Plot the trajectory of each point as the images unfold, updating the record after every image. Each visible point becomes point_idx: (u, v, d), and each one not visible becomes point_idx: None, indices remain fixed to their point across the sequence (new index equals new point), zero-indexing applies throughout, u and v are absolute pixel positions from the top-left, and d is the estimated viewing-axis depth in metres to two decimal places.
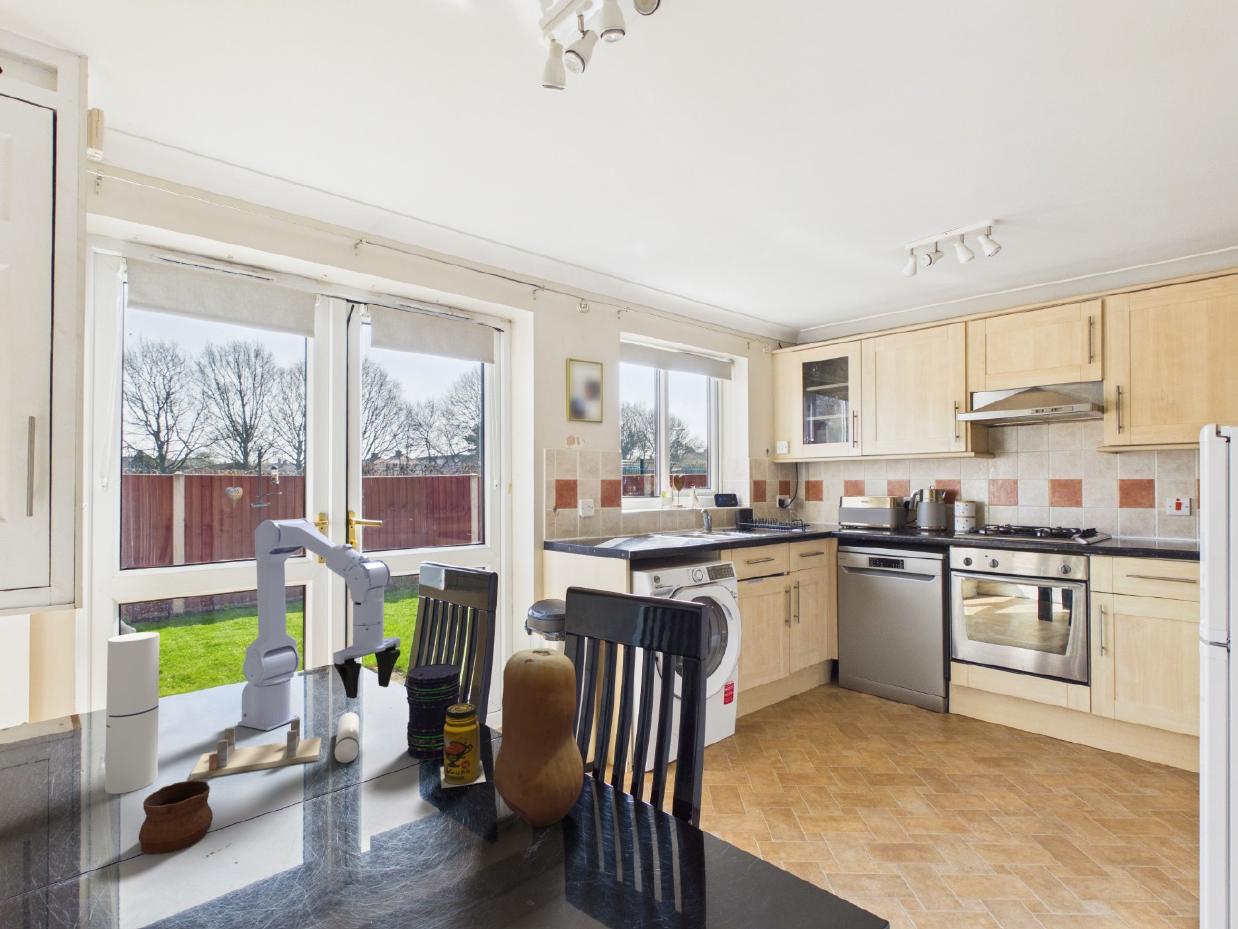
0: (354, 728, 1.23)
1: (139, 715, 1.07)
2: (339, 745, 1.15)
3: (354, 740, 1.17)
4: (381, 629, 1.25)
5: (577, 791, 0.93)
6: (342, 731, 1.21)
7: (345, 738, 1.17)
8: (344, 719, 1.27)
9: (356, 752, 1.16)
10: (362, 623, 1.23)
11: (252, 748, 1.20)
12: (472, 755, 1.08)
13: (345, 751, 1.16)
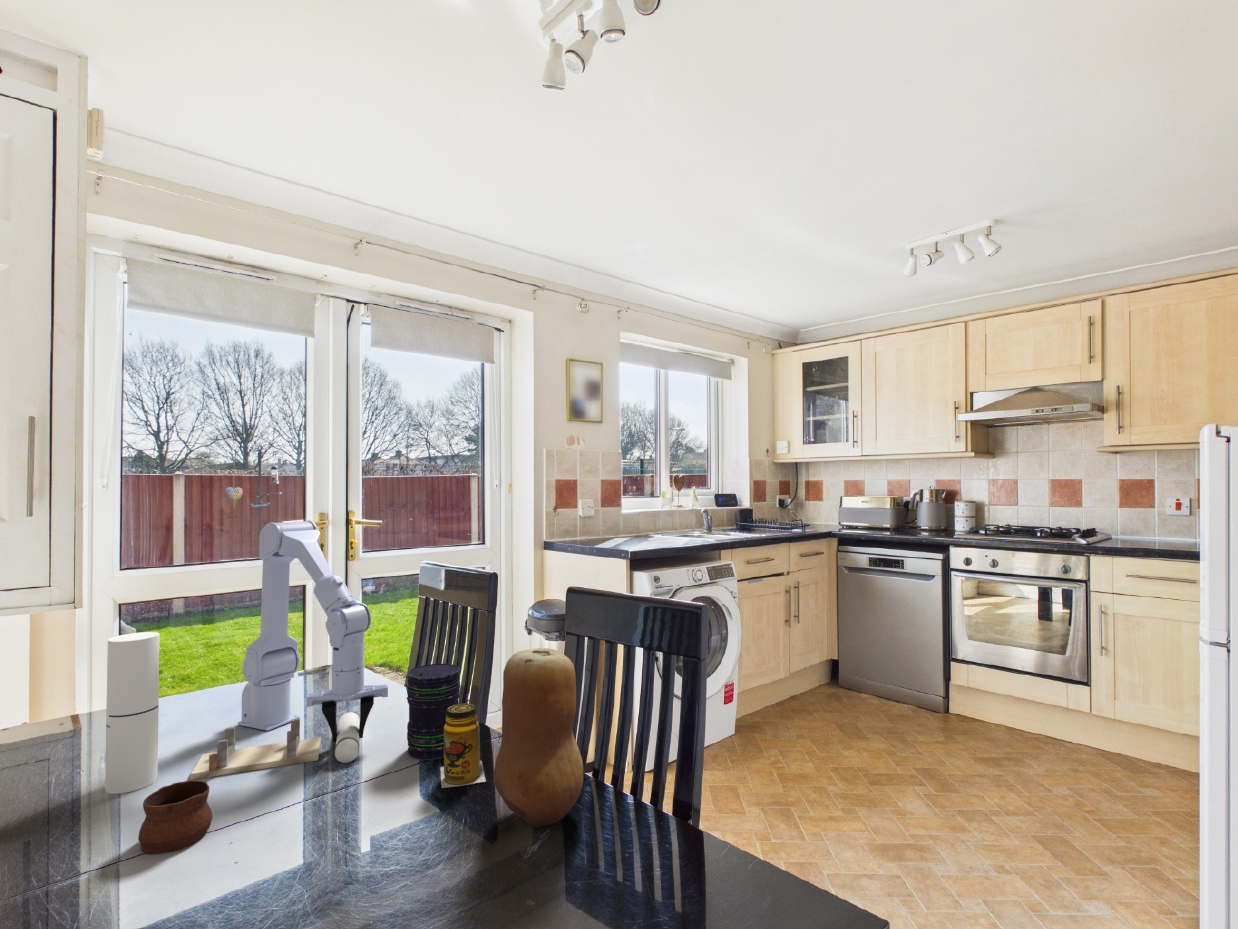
0: (355, 728, 1.23)
1: (139, 715, 1.07)
2: (340, 745, 1.15)
3: (355, 740, 1.17)
4: (353, 677, 1.21)
5: (577, 791, 0.93)
6: (343, 731, 1.21)
7: (346, 738, 1.17)
8: (345, 718, 1.27)
9: (356, 752, 1.16)
10: (340, 669, 1.21)
11: (252, 748, 1.20)
12: (472, 755, 1.08)
13: (345, 751, 1.16)
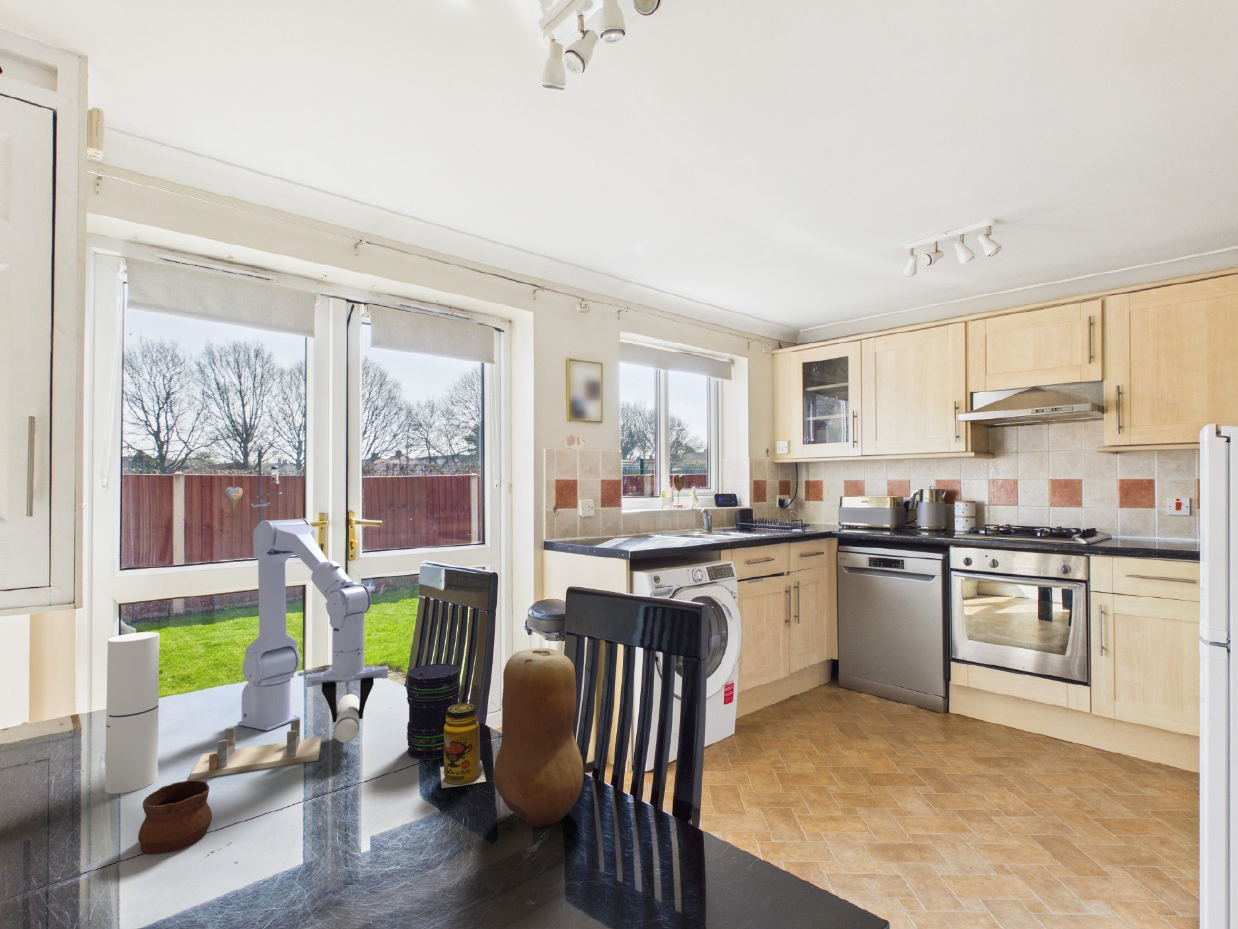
0: (354, 709, 1.23)
1: (139, 715, 1.07)
2: (339, 725, 1.15)
3: (354, 720, 1.17)
4: (353, 658, 1.21)
5: (577, 791, 0.93)
6: (342, 711, 1.21)
7: (345, 718, 1.17)
8: (345, 700, 1.27)
9: (356, 732, 1.16)
10: (340, 650, 1.21)
11: (252, 748, 1.20)
12: (472, 755, 1.08)
13: (345, 731, 1.16)
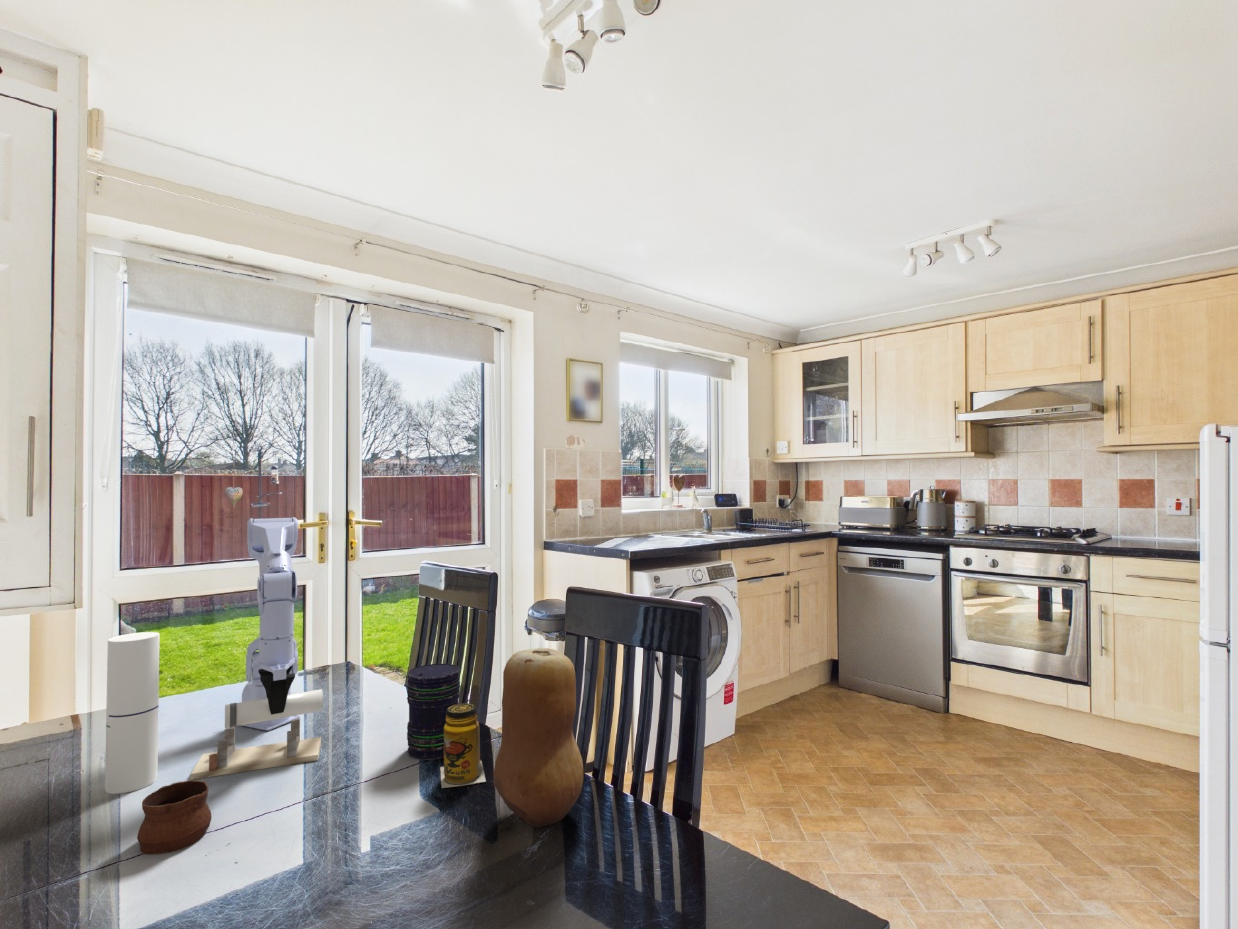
0: None
1: (139, 715, 1.07)
2: None
3: (229, 709, 1.14)
4: (260, 646, 1.17)
5: (577, 791, 0.93)
6: (261, 699, 1.18)
7: (231, 703, 1.15)
8: (301, 692, 1.22)
9: (225, 722, 1.13)
10: (261, 637, 1.17)
11: (252, 748, 1.20)
12: (472, 755, 1.08)
13: None
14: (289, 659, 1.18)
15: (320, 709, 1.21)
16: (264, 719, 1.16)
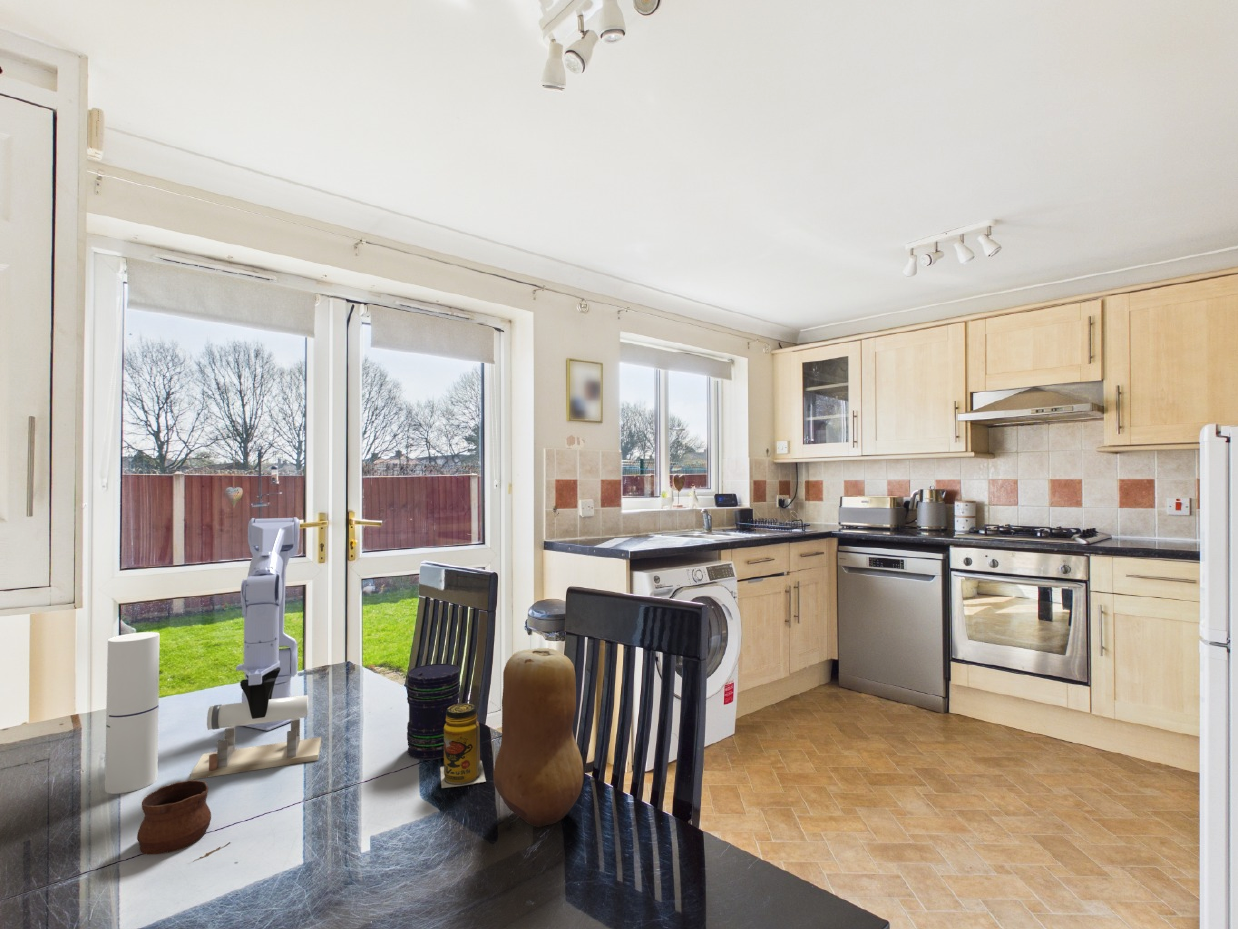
0: None
1: (139, 715, 1.07)
2: None
3: (212, 711, 1.14)
4: (244, 649, 1.16)
5: (577, 791, 0.93)
6: (246, 702, 1.18)
7: (216, 705, 1.15)
8: (287, 697, 1.20)
9: (207, 723, 1.13)
10: (244, 640, 1.16)
11: (252, 748, 1.20)
12: (472, 755, 1.08)
13: None
14: (271, 663, 1.17)
15: (304, 715, 1.19)
16: (246, 723, 1.16)
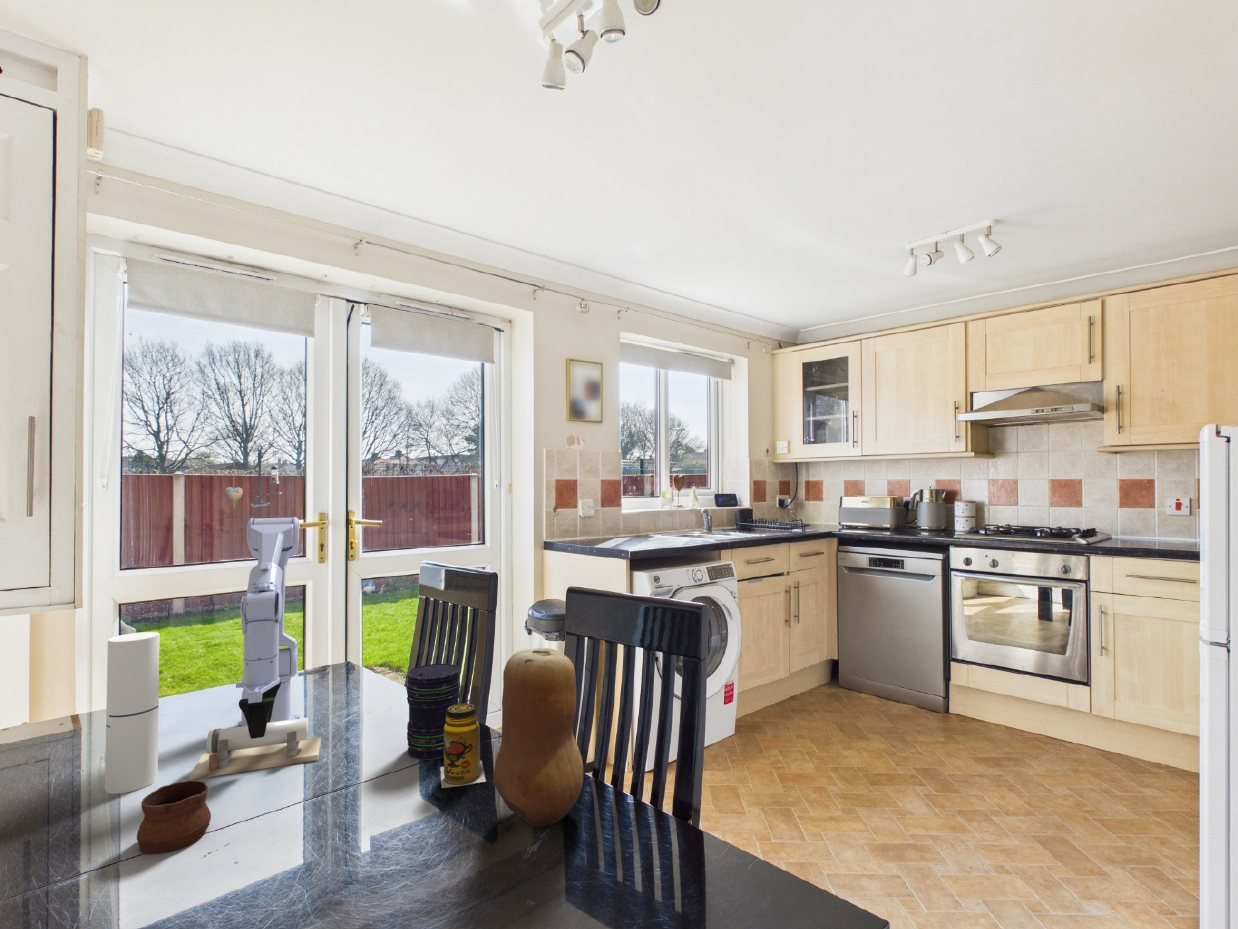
0: None
1: (139, 715, 1.07)
2: None
3: (212, 735, 1.14)
4: None
5: (577, 791, 0.93)
6: None
7: (216, 729, 1.15)
8: (287, 720, 1.20)
9: (207, 748, 1.13)
10: (244, 657, 1.16)
11: (252, 748, 1.20)
12: (472, 755, 1.08)
13: None
14: (271, 680, 1.17)
15: (304, 738, 1.19)
16: (246, 747, 1.15)
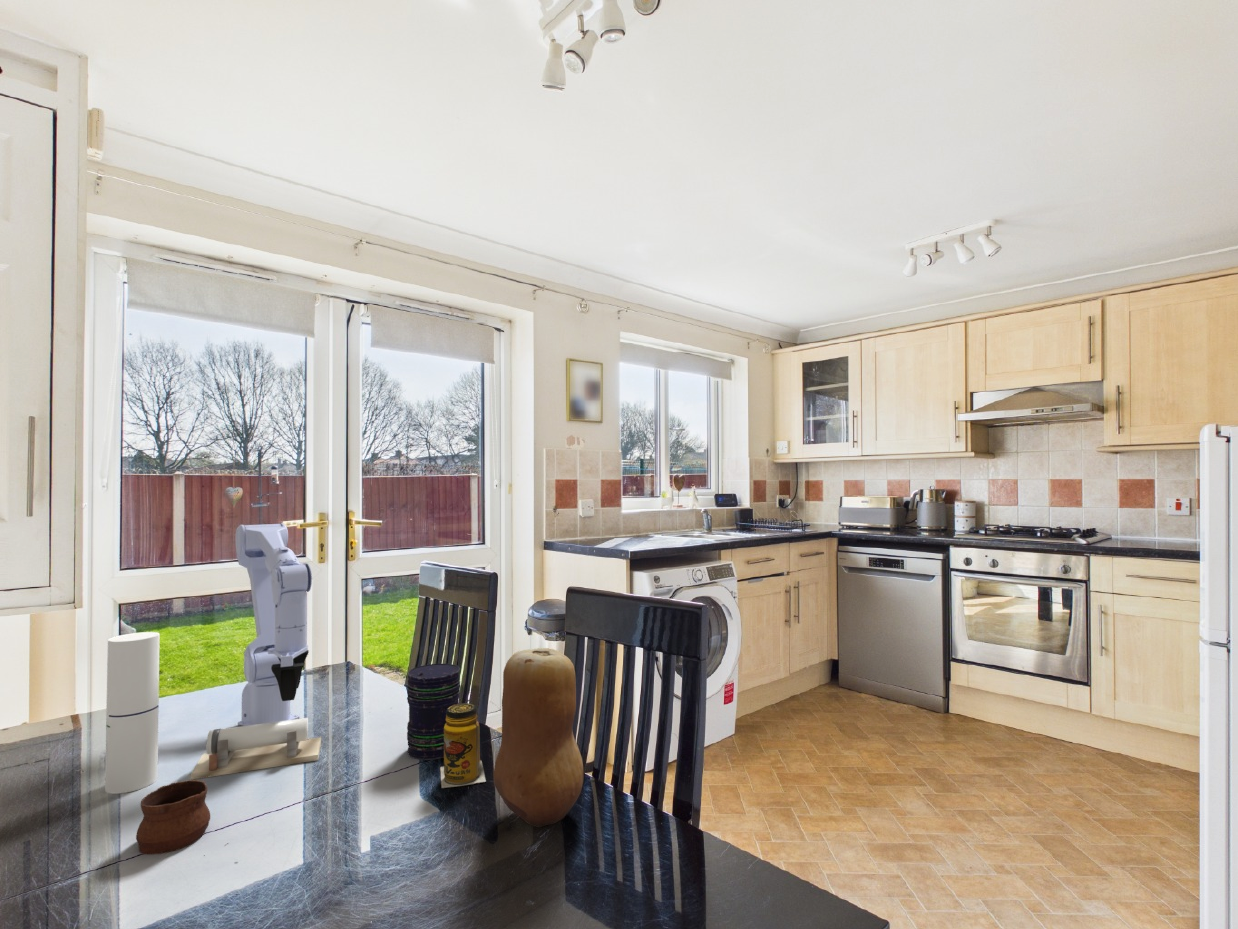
0: (252, 730, 1.16)
1: (139, 715, 1.07)
2: None
3: (211, 736, 1.13)
4: (275, 634, 1.24)
5: (577, 791, 0.93)
6: None
7: (215, 730, 1.15)
8: (287, 720, 1.20)
9: (207, 749, 1.13)
10: (278, 626, 1.24)
11: (252, 748, 1.20)
12: (472, 755, 1.08)
13: None
14: (301, 647, 1.25)
15: (304, 739, 1.19)
16: (246, 747, 1.15)
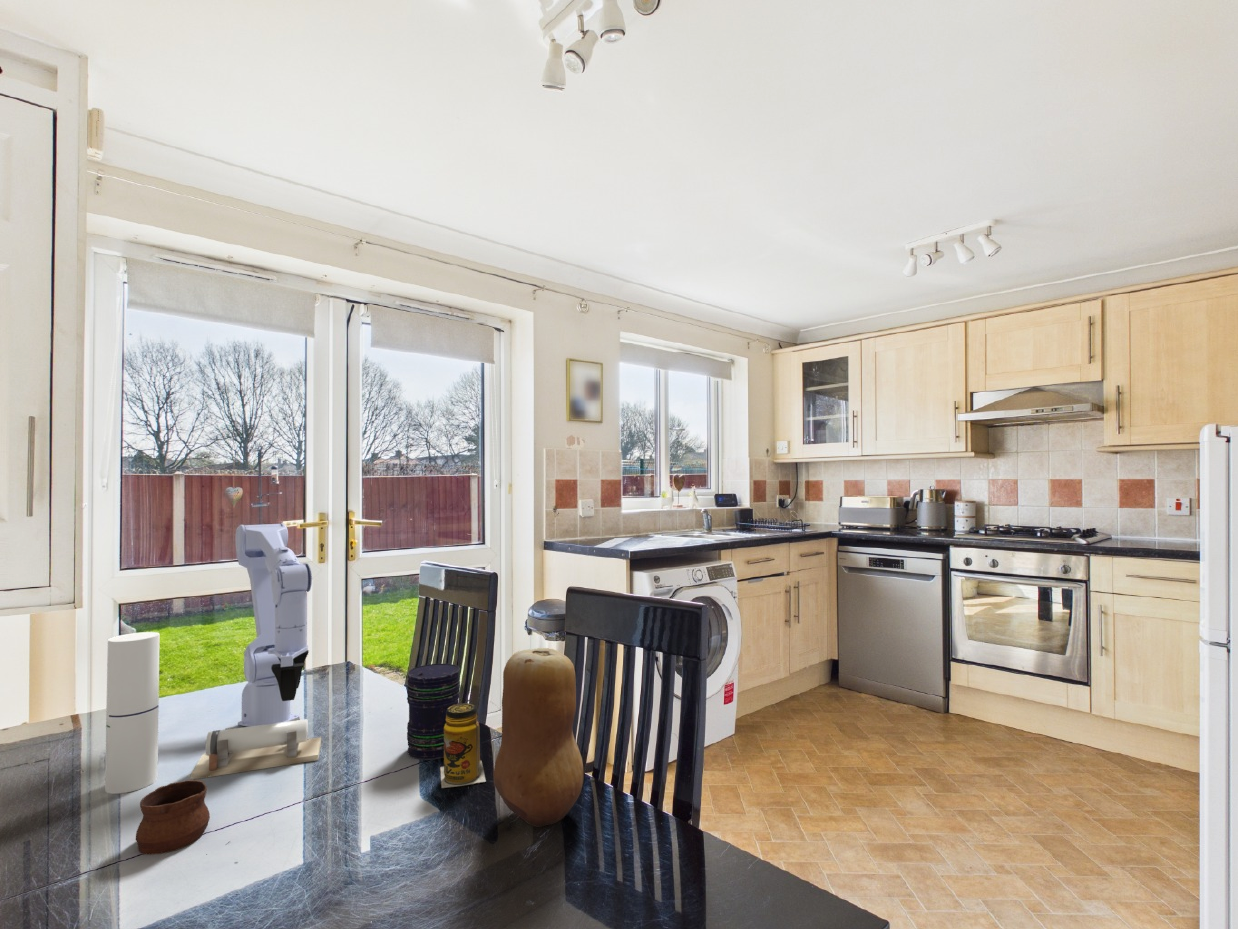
0: (251, 736, 1.15)
1: (139, 715, 1.07)
2: None
3: (210, 742, 1.12)
4: (275, 634, 1.24)
5: (577, 791, 0.93)
6: (244, 727, 1.16)
7: (214, 733, 1.14)
8: (286, 722, 1.18)
9: (206, 752, 1.13)
10: (278, 626, 1.24)
11: None
12: (472, 755, 1.08)
13: None
14: (301, 647, 1.25)
15: (303, 741, 1.19)
16: None
